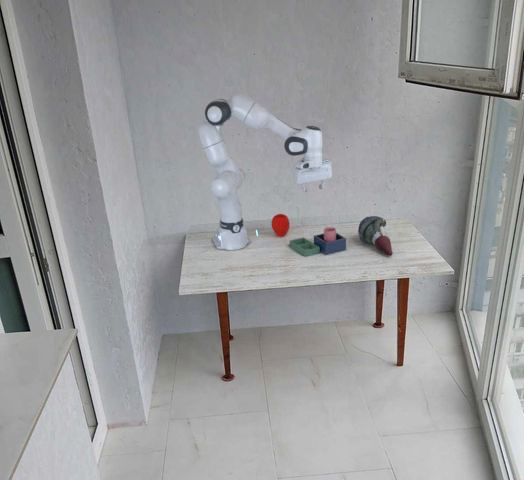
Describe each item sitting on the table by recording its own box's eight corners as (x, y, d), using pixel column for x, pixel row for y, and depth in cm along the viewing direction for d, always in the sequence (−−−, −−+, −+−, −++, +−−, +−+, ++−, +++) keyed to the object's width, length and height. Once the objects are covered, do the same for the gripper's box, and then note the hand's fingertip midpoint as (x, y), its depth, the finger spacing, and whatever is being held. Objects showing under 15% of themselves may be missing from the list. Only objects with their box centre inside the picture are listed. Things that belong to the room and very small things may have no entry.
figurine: (380, 276, 293) (405, 262, 285) (364, 266, 281) (390, 252, 272) (366, 230, 304) (390, 216, 296) (350, 219, 292) (374, 204, 284)
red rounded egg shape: (272, 232, 313) (271, 211, 307) (289, 232, 312) (289, 210, 306) (271, 239, 305) (270, 217, 298) (289, 238, 304) (289, 216, 297)
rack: (289, 245, 295) (289, 240, 294) (303, 242, 298) (303, 237, 297) (305, 256, 283) (305, 250, 281) (319, 252, 286) (319, 247, 284)
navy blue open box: (313, 247, 293) (313, 235, 289) (333, 242, 297) (333, 231, 293) (325, 254, 283) (325, 243, 280) (345, 250, 287) (346, 238, 284)
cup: (321, 246, 291) (321, 228, 286) (331, 243, 293) (332, 226, 288) (327, 250, 286) (328, 232, 281) (338, 247, 288) (338, 230, 283)
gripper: (328, 157, 278) (327, 185, 286) (291, 163, 271) (292, 191, 278) (334, 159, 273) (334, 188, 281) (298, 166, 266) (298, 195, 274)
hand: (313, 190), depth 280 cm, fingers open, 8 cm apart
